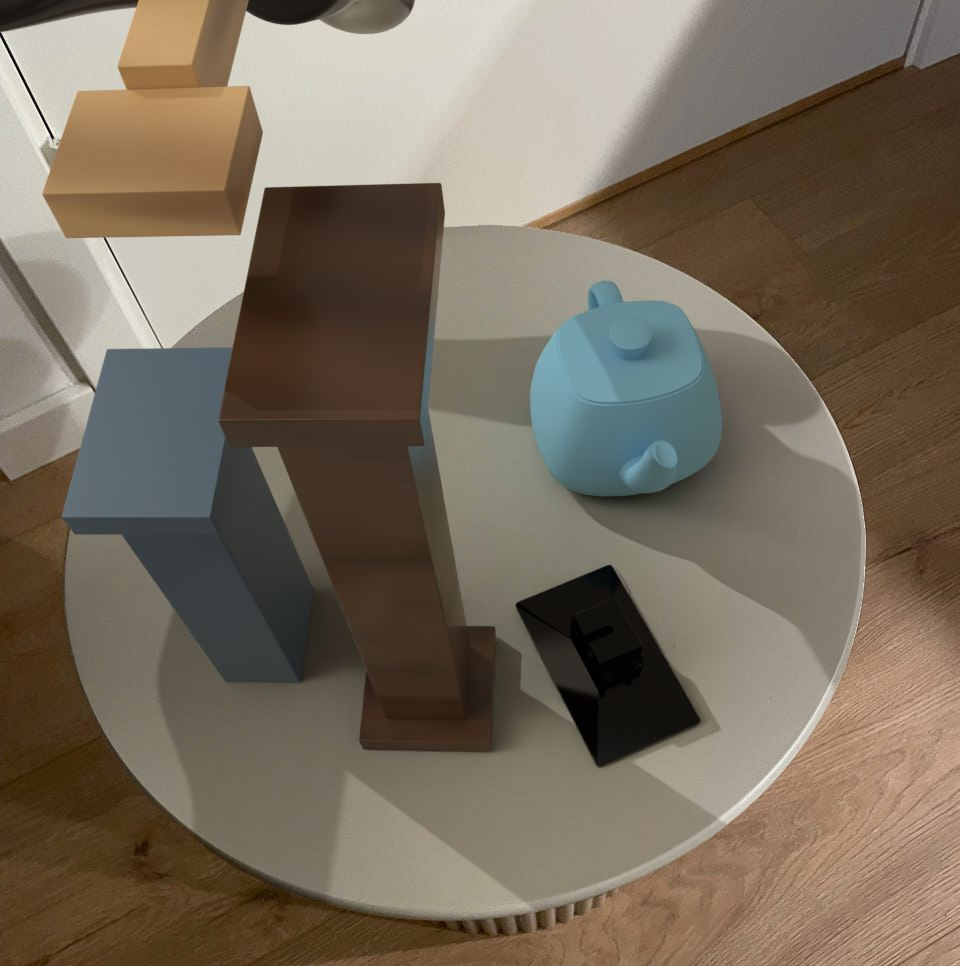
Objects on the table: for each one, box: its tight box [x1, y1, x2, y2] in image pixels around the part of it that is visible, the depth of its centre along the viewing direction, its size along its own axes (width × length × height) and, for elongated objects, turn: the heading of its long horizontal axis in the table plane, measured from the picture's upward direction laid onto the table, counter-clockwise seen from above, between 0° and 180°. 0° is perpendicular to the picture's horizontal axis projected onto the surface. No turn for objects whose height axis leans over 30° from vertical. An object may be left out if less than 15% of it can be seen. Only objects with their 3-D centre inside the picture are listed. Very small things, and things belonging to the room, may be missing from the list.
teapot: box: [529, 280, 723, 497], centre depth 68 cm, size 13×11×18 cm
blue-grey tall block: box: [61, 346, 314, 683], centre depth 58 cm, size 10×7×22 cm
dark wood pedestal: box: [218, 182, 497, 753], centre depth 52 cm, size 12×8×32 cm
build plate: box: [515, 564, 701, 768], centre depth 63 cm, size 12×7×5 cm, turn 23°
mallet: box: [42, 0, 264, 239], centre depth 37 cm, size 19×6×3 cm, turn 177°
